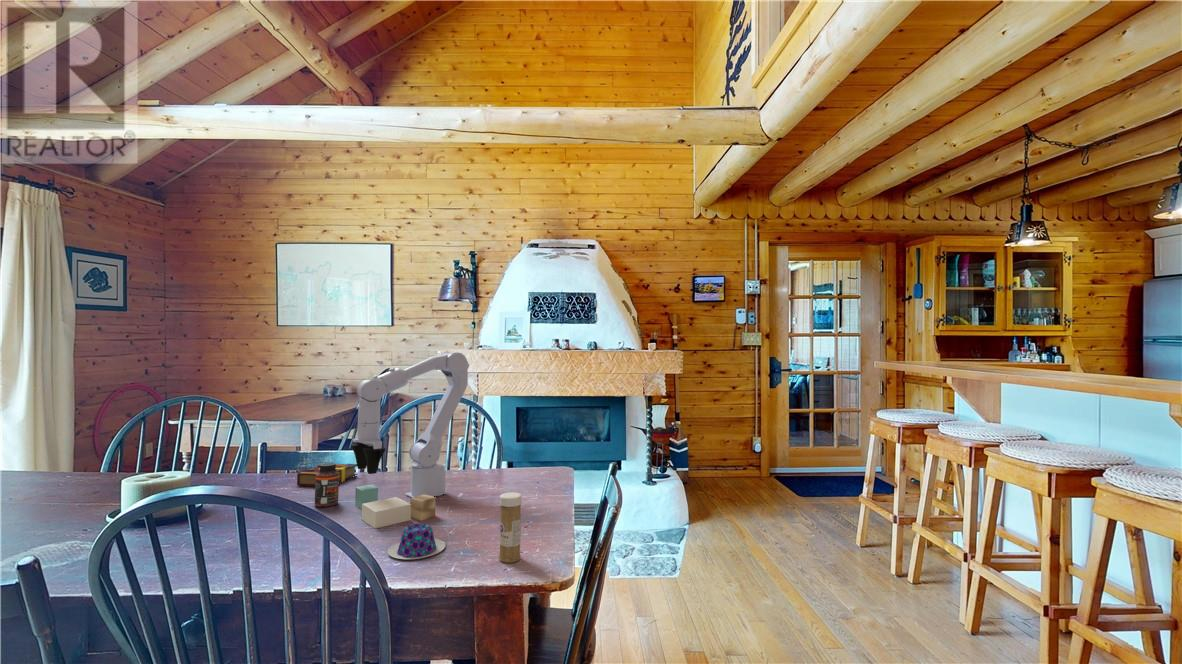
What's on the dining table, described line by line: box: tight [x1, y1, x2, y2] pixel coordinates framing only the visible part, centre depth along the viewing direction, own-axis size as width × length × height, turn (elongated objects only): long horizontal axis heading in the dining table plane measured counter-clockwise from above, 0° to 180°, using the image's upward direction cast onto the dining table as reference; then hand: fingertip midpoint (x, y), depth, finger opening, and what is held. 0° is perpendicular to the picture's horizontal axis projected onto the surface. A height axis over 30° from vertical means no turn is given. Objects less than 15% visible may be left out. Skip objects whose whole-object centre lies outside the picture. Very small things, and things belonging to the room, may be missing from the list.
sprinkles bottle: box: [498, 491, 523, 564], centre depth 107 cm, size 5×5×13 cm
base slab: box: [361, 496, 412, 529], centre depth 131 cm, size 9×9×4 cm
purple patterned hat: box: [387, 523, 446, 560], centre depth 111 cm, size 12×12×5 cm
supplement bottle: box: [314, 462, 340, 508], centre depth 143 cm, size 6×6×11 cm
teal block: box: [354, 484, 379, 510], centre depth 143 cm, size 4×4×5 cm
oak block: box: [409, 495, 437, 522], centre depth 133 cm, size 4×4×5 cm
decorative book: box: [296, 463, 358, 487], centre depth 169 cm, size 11×16×5 cm
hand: (366, 471), depth 143 cm, fingers open, 7 cm apart
